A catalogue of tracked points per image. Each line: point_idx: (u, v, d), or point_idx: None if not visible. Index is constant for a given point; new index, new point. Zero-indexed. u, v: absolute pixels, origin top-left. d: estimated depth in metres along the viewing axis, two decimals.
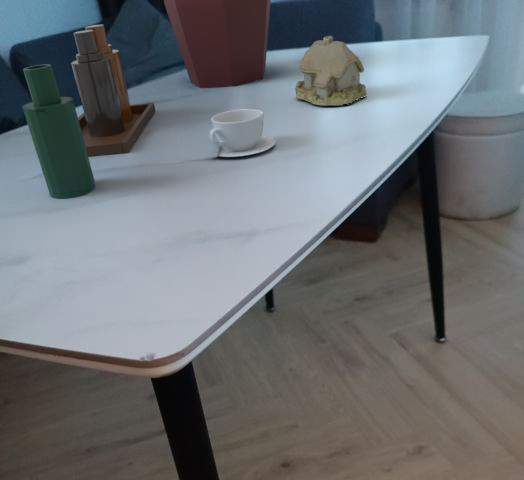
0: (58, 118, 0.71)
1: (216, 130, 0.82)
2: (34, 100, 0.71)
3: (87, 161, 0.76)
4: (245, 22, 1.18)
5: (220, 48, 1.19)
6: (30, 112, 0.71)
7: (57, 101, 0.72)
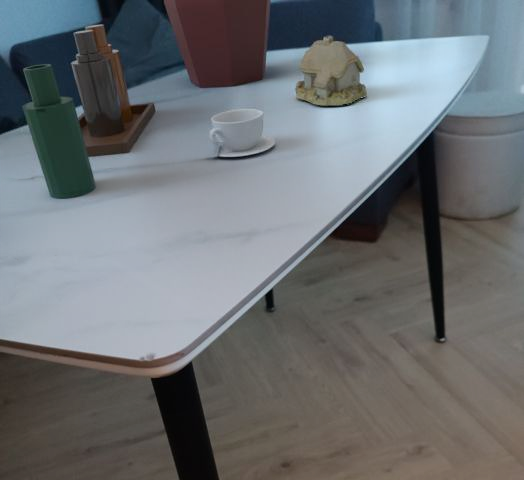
0: (58, 118, 0.71)
1: (216, 130, 0.82)
2: (34, 100, 0.71)
3: (87, 161, 0.76)
4: (245, 22, 1.18)
5: (220, 48, 1.19)
6: (30, 112, 0.71)
7: (57, 101, 0.72)
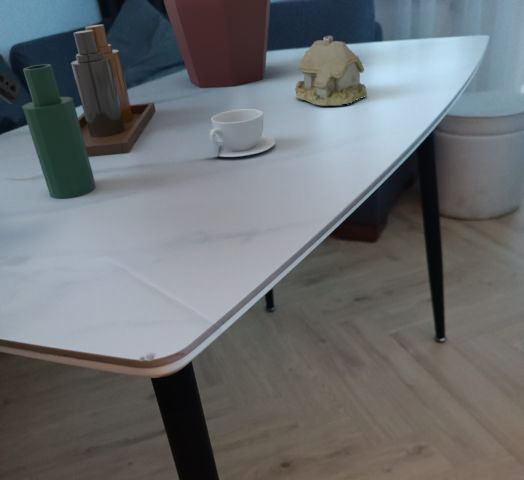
0: (58, 118, 0.71)
1: (216, 130, 0.82)
2: (34, 100, 0.71)
3: (87, 161, 0.76)
4: (245, 22, 1.18)
5: (220, 48, 1.19)
6: (30, 112, 0.71)
7: (57, 101, 0.72)
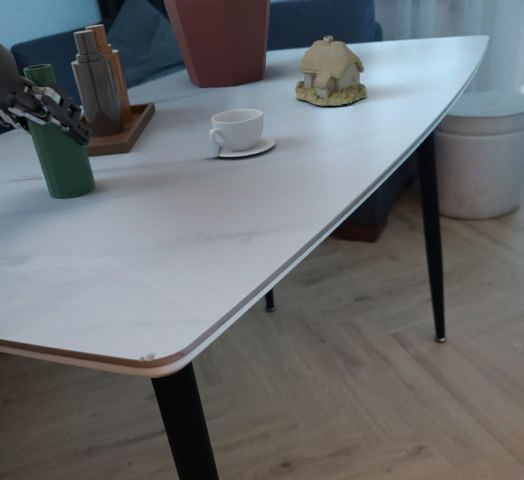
0: None
1: (216, 130, 0.82)
2: None
3: (87, 161, 0.76)
4: (245, 22, 1.18)
5: (220, 48, 1.19)
6: None
7: None
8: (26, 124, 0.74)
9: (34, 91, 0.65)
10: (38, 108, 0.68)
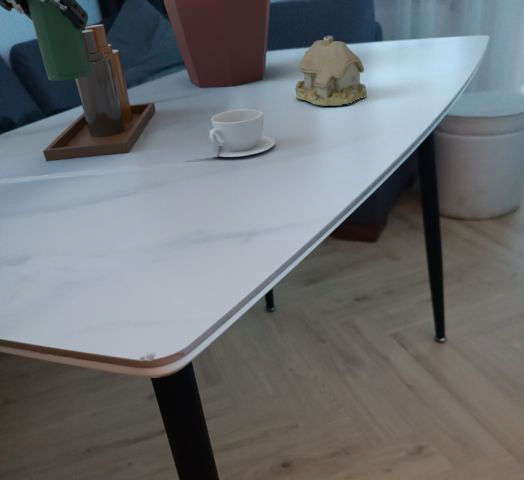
0: None
1: (216, 130, 0.82)
2: None
3: (84, 46, 0.81)
4: (245, 22, 1.18)
5: (220, 48, 1.19)
6: None
7: None
8: (27, 8, 0.79)
9: None
10: None
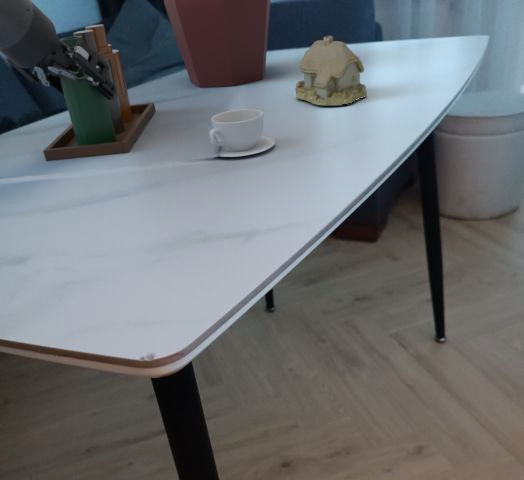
0: None
1: (216, 130, 0.82)
2: None
3: (110, 118, 0.91)
4: (245, 22, 1.18)
5: (220, 48, 1.19)
6: None
7: None
8: (52, 81, 0.89)
9: (68, 51, 0.80)
10: (71, 68, 0.83)
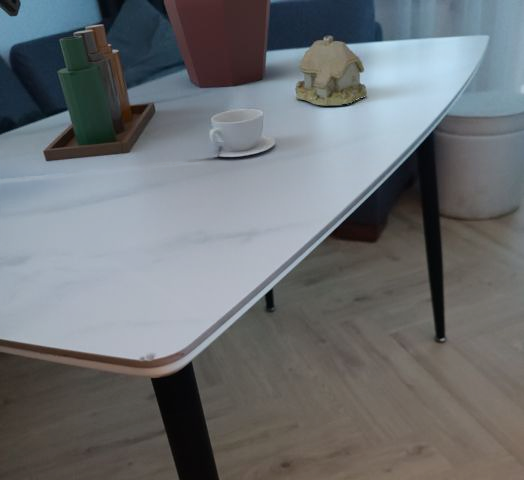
0: (87, 80, 0.86)
1: (216, 130, 0.82)
2: (68, 66, 0.86)
3: (110, 118, 0.91)
4: (245, 22, 1.18)
5: (220, 48, 1.19)
6: (65, 75, 0.86)
7: (86, 67, 0.87)
8: None
9: None
10: None
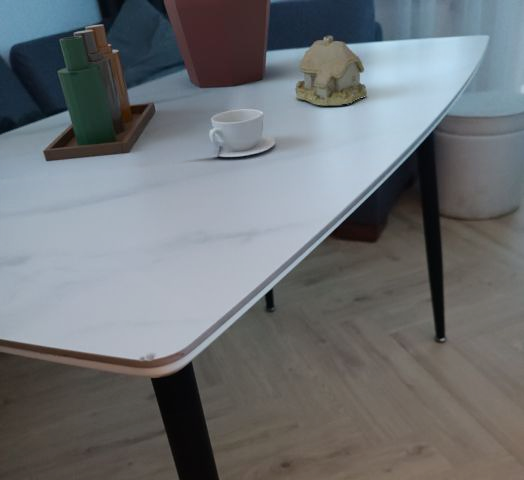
0: (87, 80, 0.86)
1: (216, 130, 0.82)
2: (68, 66, 0.86)
3: (110, 118, 0.91)
4: (245, 22, 1.18)
5: (220, 48, 1.19)
6: (65, 75, 0.86)
7: (86, 67, 0.87)
8: None
9: None
10: None
